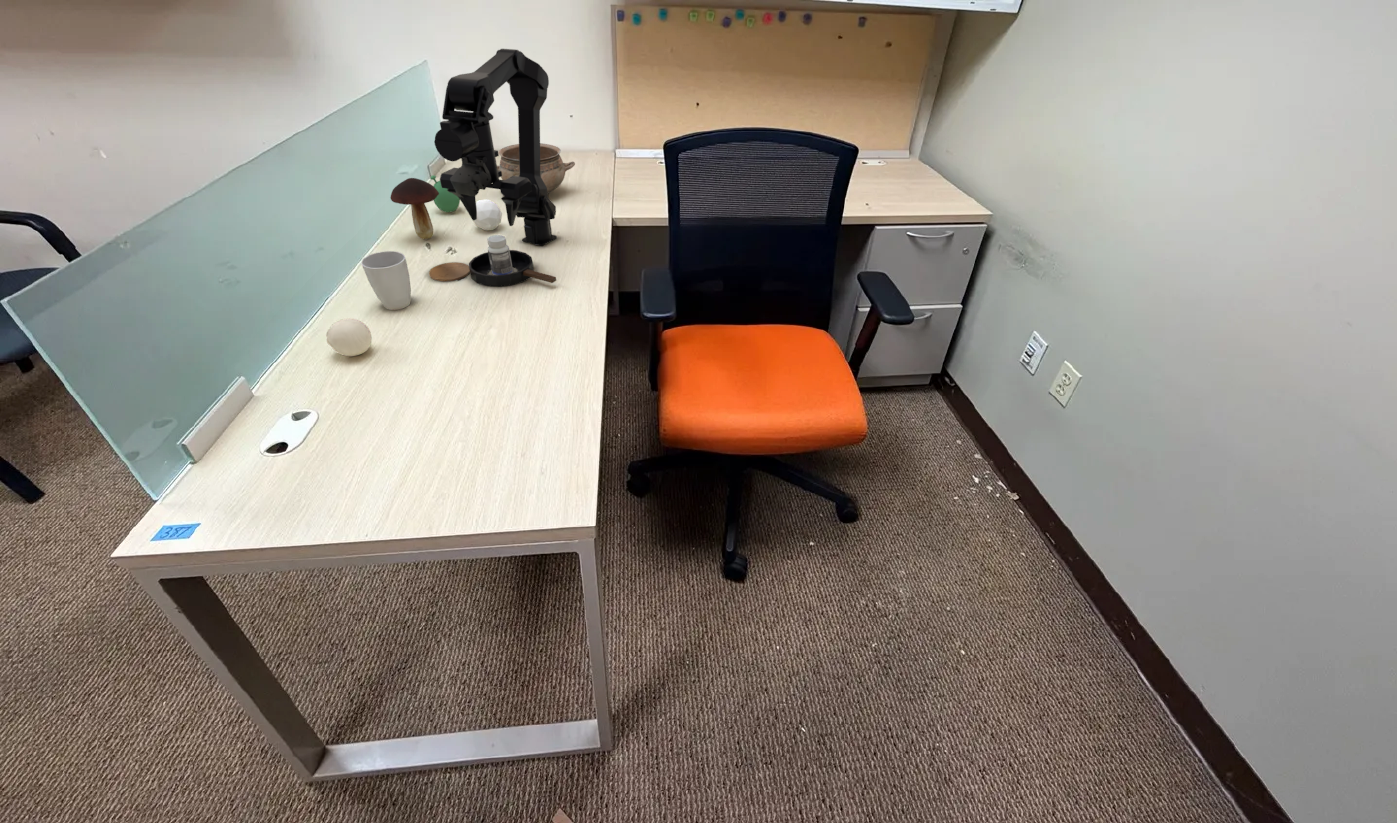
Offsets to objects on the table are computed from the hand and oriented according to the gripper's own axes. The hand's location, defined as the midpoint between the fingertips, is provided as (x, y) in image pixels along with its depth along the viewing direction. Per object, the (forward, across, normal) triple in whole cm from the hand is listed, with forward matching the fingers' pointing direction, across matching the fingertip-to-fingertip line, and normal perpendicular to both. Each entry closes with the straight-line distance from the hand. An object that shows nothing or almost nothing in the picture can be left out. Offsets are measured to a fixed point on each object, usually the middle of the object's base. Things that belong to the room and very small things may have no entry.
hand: (493, 222), depth 131 cm
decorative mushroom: (+12, -28, +10) cm, 33 cm away
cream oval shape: (+12, -7, -39) cm, 41 cm away
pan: (+12, +4, -1) cm, 13 cm away
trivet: (+12, -11, -4) cm, 17 cm away
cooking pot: (+12, -19, +51) cm, 56 cm away
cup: (+12, -12, -21) cm, 27 cm away
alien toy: (+12, -34, +29) cm, 46 cm away
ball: (+12, -17, +22) cm, 30 cm away
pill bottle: (+12, 0, 0) cm, 12 cm away
